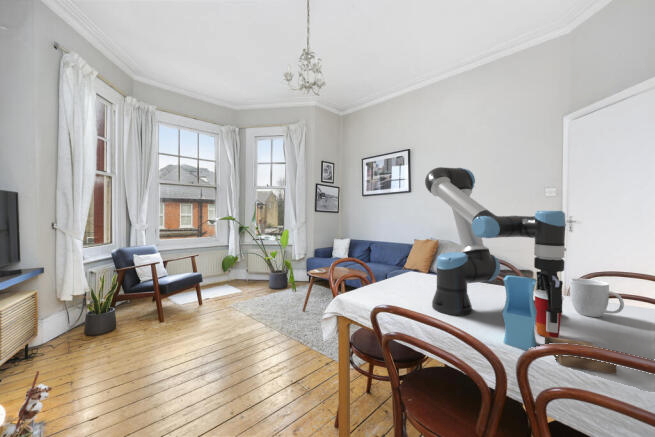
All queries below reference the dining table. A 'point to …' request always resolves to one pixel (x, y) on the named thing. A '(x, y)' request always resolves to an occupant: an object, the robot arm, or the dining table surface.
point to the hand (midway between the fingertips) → (547, 327)
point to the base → (580, 361)
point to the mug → (591, 297)
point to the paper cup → (544, 314)
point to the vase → (519, 312)
